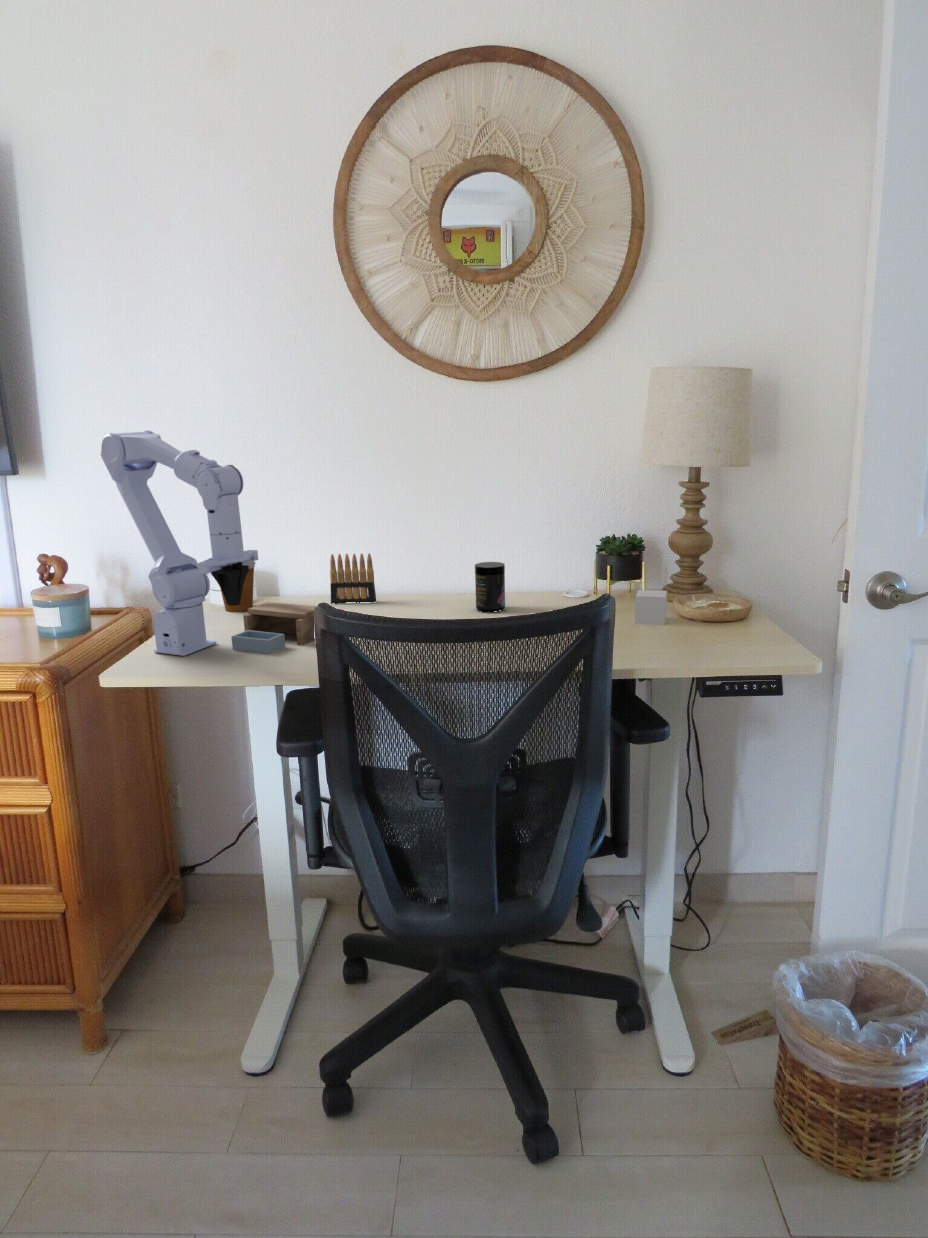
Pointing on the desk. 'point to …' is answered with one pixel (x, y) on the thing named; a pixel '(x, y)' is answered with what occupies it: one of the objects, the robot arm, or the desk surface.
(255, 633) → the grey tray
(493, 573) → the supplement container
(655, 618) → the grey cube
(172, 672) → the desk surface
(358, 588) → the ammunition clip
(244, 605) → the disposable coffee cup
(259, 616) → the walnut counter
